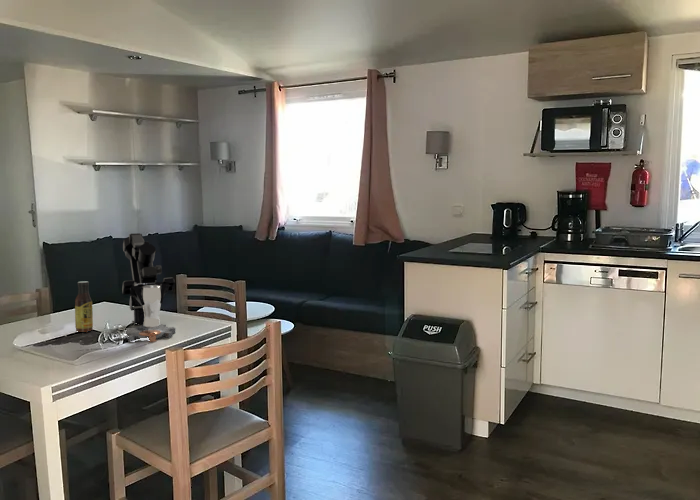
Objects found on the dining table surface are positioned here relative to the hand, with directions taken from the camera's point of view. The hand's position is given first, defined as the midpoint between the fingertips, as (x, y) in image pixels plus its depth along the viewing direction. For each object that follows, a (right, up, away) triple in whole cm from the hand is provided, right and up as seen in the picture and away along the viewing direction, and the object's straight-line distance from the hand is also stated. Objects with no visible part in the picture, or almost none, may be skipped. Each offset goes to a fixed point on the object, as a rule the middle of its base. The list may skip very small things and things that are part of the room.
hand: (152, 304), depth 214 cm
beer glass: (-1, -8, +2) cm, 9 cm away
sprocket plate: (-4, -13, +6) cm, 14 cm away
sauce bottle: (-31, -12, +12) cm, 35 cm away
